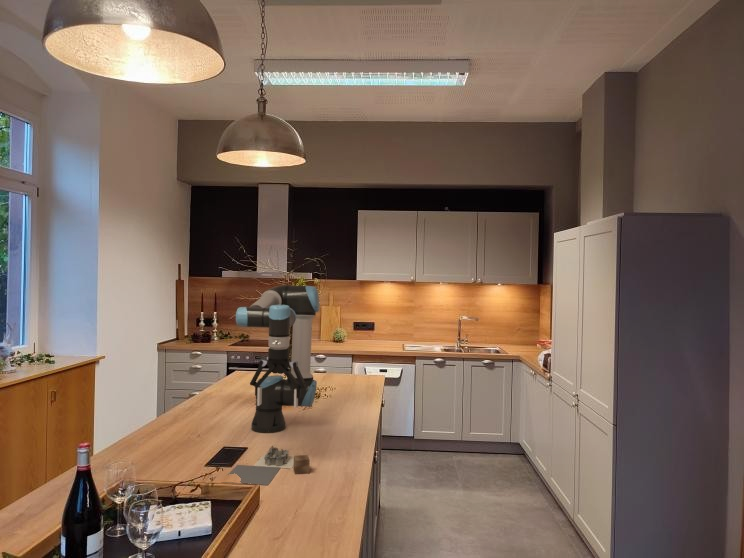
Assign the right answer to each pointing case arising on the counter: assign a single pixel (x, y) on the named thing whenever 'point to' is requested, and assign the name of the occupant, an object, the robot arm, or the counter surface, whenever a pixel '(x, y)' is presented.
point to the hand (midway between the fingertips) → (277, 405)
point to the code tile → (287, 464)
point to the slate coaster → (255, 474)
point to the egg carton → (276, 456)
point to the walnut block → (301, 464)
